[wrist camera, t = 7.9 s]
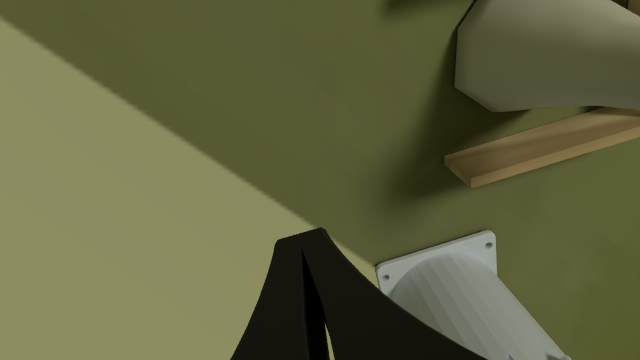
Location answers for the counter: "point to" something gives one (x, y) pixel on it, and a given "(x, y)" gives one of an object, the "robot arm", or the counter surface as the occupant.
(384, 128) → the counter surface
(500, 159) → the oak frame
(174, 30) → the counter surface
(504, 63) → the flask
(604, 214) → the counter surface
